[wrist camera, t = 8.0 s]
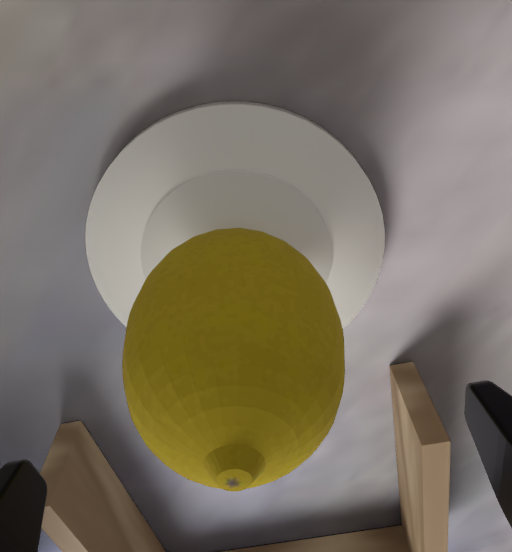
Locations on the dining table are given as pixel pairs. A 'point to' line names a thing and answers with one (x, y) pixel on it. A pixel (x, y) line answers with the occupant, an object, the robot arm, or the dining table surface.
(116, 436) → the dining table surface
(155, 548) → the oak frame
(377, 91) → the dining table surface
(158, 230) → the saucer
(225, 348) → the lemon
